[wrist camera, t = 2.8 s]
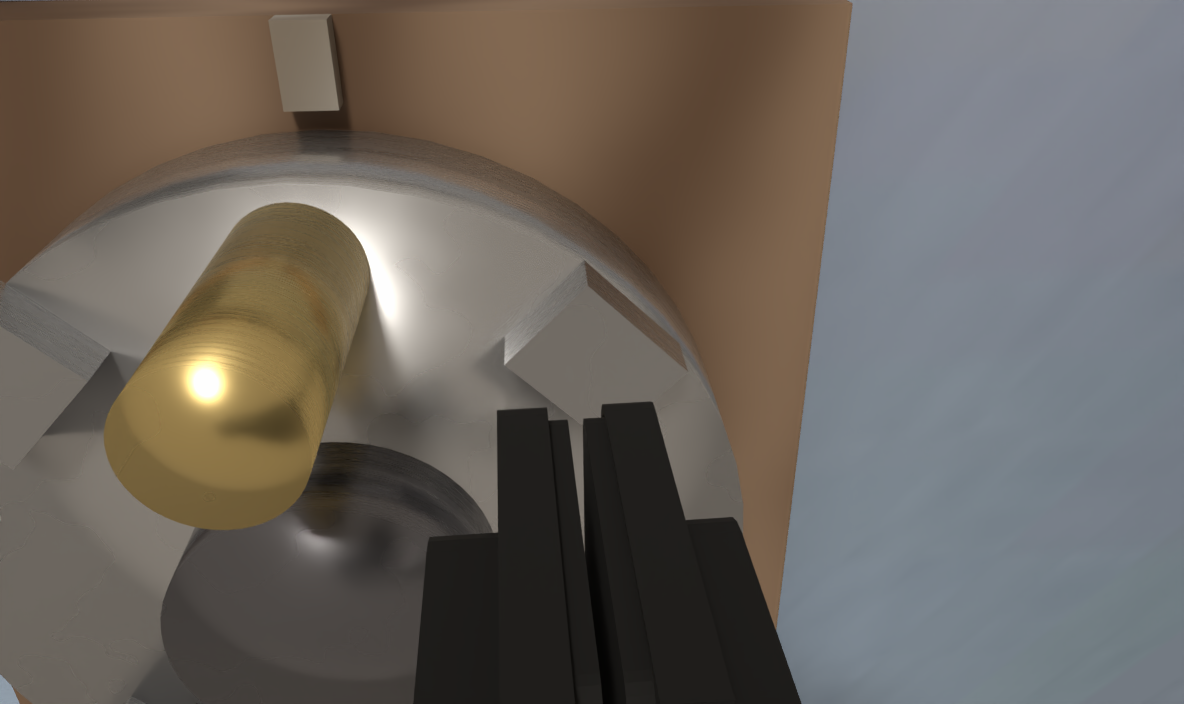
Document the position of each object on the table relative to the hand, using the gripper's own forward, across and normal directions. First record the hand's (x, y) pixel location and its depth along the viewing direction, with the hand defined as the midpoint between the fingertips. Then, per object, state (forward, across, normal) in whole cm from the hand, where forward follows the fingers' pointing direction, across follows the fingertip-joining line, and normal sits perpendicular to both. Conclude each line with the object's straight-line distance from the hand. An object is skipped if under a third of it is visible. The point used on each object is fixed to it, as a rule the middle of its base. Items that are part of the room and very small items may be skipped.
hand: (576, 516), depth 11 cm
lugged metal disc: (+10, +4, +6) cm, 13 cm away
